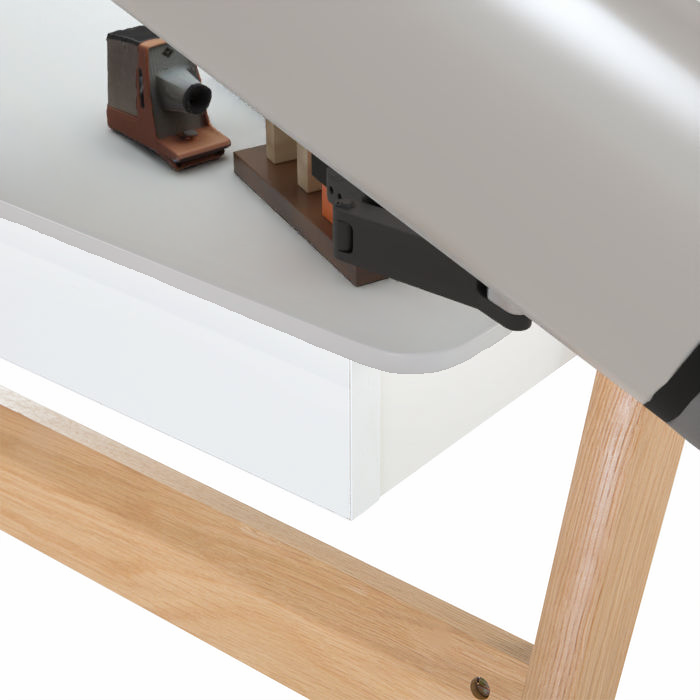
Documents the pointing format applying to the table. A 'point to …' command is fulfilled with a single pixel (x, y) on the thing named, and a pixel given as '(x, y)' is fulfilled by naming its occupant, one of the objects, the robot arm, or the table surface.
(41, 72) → the table surface
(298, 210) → the blocks on brown board
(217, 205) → the table surface
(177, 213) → the table surface
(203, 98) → the electronic device
